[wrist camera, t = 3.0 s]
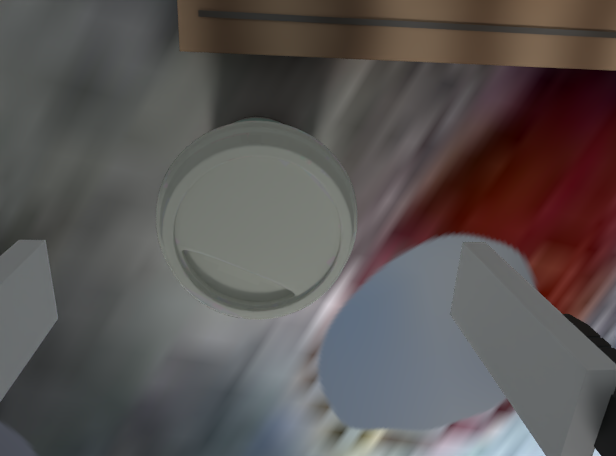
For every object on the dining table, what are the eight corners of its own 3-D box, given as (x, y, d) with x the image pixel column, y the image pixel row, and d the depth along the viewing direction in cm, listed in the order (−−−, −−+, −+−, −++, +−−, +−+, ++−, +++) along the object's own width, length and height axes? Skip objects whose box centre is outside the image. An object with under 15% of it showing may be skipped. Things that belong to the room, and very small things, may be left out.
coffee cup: (158, 142, 29) (98, 207, 18) (279, 64, 28) (294, 83, 17) (238, 251, 32) (229, 364, 21) (350, 184, 31) (402, 266, 20)
